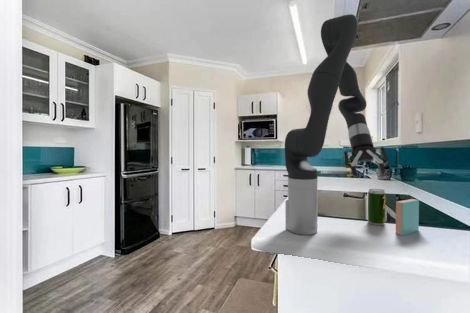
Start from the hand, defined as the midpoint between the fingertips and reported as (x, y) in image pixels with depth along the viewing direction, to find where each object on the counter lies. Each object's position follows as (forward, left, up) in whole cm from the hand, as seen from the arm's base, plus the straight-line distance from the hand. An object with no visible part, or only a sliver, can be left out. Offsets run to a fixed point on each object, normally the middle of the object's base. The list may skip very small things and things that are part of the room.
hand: (369, 175), depth 88 cm
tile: (+12, -4, -17) cm, 21 cm away
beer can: (+3, 0, -17) cm, 17 cm away
